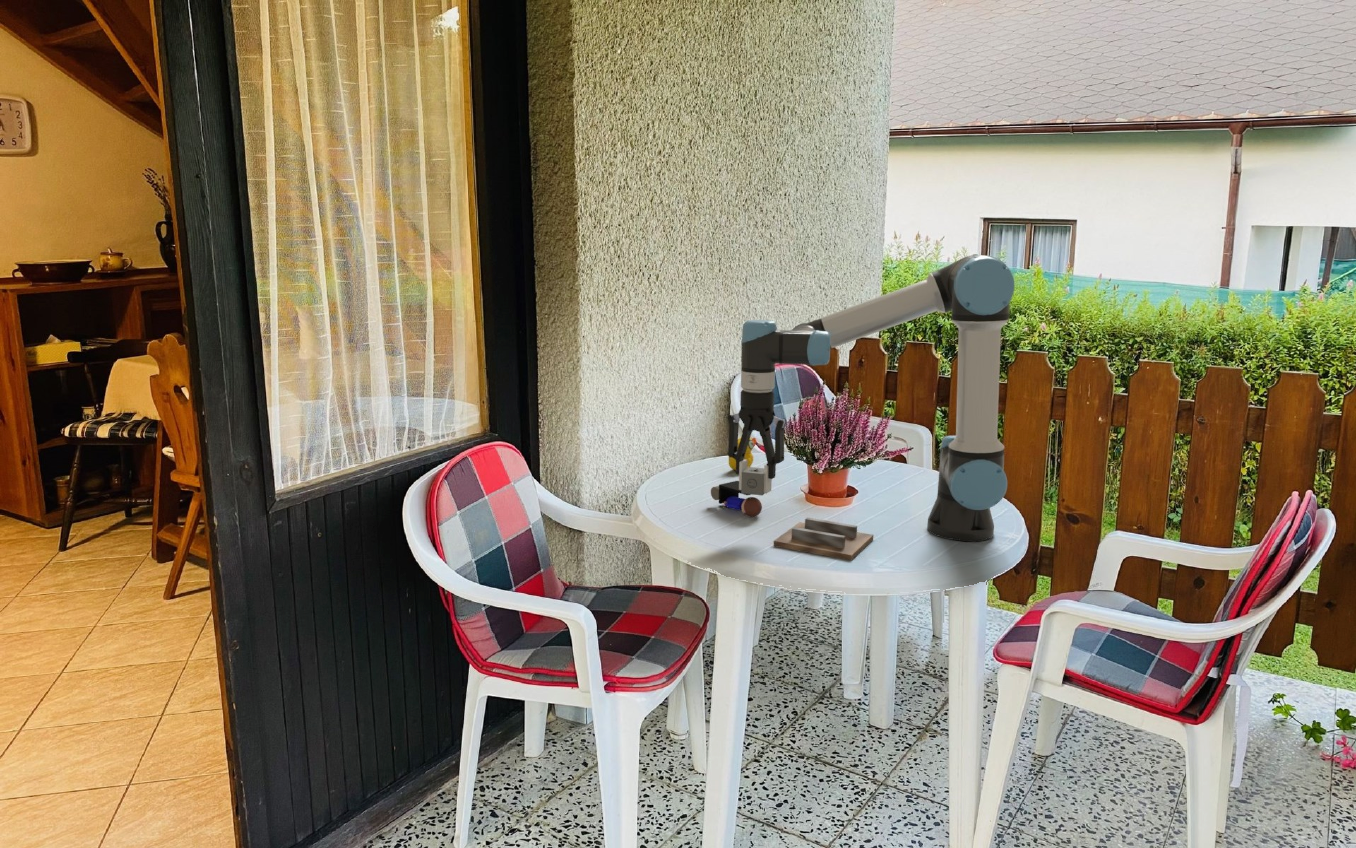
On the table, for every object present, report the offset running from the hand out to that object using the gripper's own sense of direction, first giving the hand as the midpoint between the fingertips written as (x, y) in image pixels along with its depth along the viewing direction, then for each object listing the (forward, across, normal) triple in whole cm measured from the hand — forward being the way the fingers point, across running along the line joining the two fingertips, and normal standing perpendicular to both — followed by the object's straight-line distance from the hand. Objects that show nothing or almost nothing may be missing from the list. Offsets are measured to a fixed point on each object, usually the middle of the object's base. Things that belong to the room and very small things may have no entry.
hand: (755, 489), depth 214 cm
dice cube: (+1, 0, 0) cm, 1 cm away
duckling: (+11, -27, +54) cm, 61 cm away
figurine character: (+11, -11, +16) cm, 23 cm away
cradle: (+11, +16, +4) cm, 20 cm away
